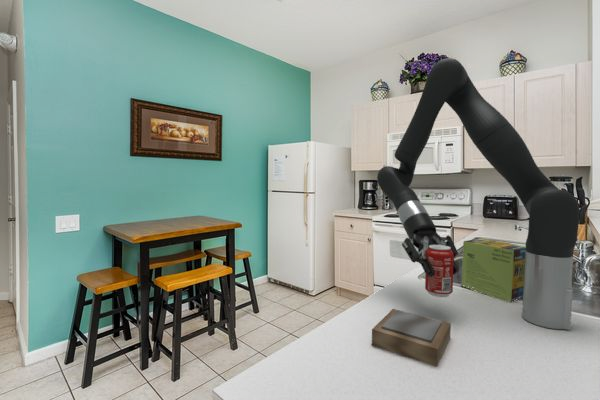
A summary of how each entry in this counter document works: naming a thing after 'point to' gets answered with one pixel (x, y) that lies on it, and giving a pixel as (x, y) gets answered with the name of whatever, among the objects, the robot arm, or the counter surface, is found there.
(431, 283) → the beverage can
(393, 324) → the walnut plinth
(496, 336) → the counter surface
